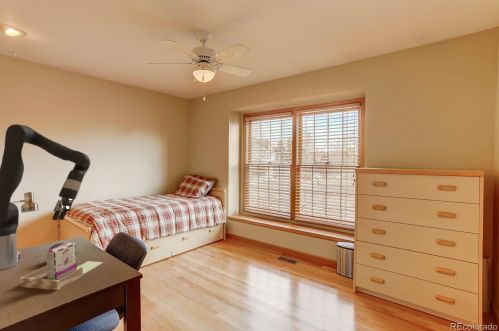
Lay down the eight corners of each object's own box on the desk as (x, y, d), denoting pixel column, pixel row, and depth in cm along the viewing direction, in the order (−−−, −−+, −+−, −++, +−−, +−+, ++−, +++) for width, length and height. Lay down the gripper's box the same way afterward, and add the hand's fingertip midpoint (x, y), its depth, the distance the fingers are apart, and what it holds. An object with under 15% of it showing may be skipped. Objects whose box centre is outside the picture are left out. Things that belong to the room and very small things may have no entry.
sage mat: (67, 273, 129) (67, 272, 129) (88, 261, 143) (88, 261, 143) (83, 274, 128) (83, 273, 128) (102, 262, 142) (102, 262, 142)
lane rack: (20, 286, 115) (19, 278, 115) (48, 272, 129) (48, 264, 129) (58, 290, 113) (57, 281, 113) (82, 275, 127) (82, 267, 127)
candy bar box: (68, 275, 127) (67, 242, 126) (77, 276, 126) (76, 243, 125) (46, 286, 116) (45, 250, 115) (55, 287, 115) (54, 251, 114)
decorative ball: (47, 266, 136) (46, 248, 136) (48, 260, 144) (47, 242, 144) (70, 262, 142) (70, 244, 141) (69, 256, 150) (69, 239, 149)
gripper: (57, 188, 137) (43, 218, 131) (68, 185, 129) (54, 217, 123) (72, 192, 143) (60, 221, 136) (83, 190, 134) (71, 221, 128)
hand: (57, 219), depth 129 cm, fingers open, 8 cm apart
